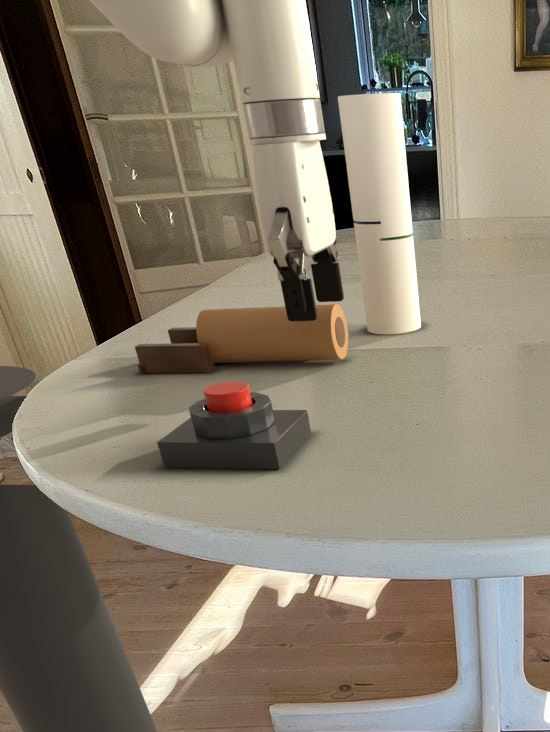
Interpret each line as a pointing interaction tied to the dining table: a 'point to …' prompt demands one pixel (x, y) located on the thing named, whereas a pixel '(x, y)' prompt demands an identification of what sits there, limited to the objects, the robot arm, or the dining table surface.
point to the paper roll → (272, 335)
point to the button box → (236, 437)
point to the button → (227, 397)
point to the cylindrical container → (381, 210)
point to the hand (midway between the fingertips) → (317, 310)
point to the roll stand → (175, 354)
